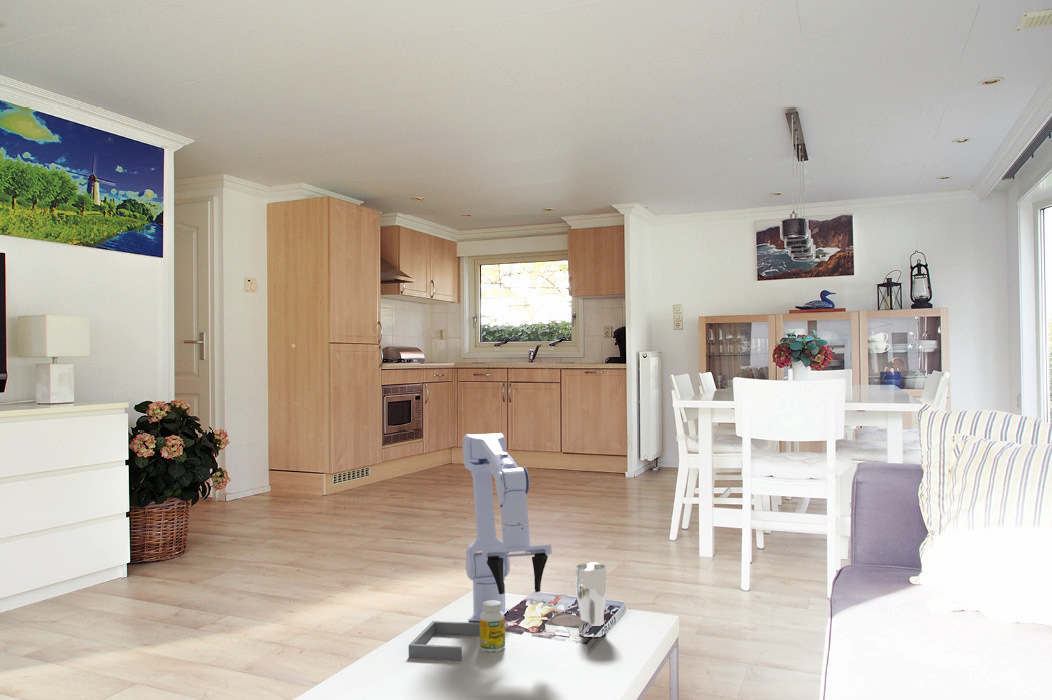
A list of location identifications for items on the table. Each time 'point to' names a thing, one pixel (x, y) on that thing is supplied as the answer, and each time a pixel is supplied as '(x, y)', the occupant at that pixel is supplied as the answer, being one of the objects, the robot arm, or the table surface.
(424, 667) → the table surface
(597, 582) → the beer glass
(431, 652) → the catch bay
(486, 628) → the supplement bottle
